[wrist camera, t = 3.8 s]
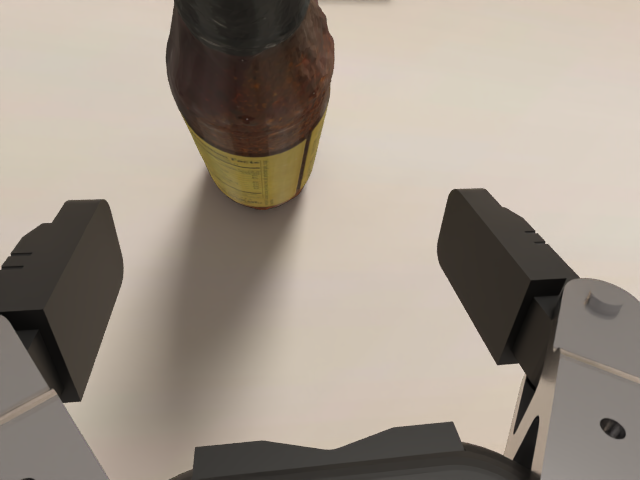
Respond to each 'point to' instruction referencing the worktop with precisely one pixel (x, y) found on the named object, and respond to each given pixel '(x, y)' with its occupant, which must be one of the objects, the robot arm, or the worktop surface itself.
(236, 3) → the sauce bottle
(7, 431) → the robot arm
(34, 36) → the worktop surface
